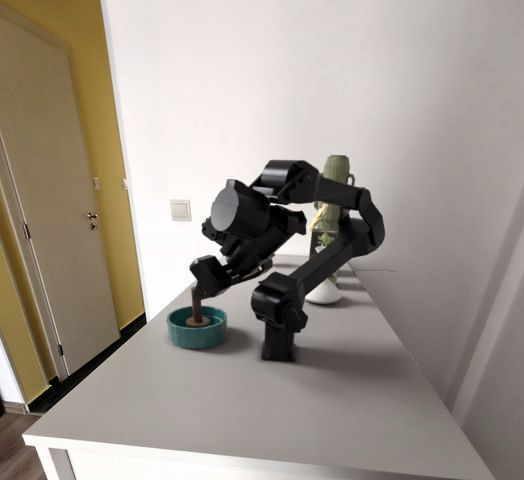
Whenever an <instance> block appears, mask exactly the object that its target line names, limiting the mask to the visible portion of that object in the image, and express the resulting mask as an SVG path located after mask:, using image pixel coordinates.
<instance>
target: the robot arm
mask: <svg viewBox="0 0 524 480" xmlns="http://www.w3.org/2000/svg"><path fill="white" fill-rule="evenodd" d="M320 173H321V171H320V170H319V168H317V167H315V166H314V165H313V164H311V163H310V162H308V161H307V160H304V159H270V160H268V161H267V163H266V164H265V165H264V167H263V170H262V172H261V173H260V175H258V177H256V178H255V179H254V180H253V181H252V182H251V183H250V185H247V184H245V183H244V182H243V181H241V180H239V179H237V178H236V179H235V178H234V179H233V178H228V179H226V183H225V187H223V189H221V190H220V191H219V192H218V193H217V195H216V197H215V199H214V201H213V202H212V203H211V207H210V216H208V217H206V218H205V221H204V222H201V234H202V235H203V236H204V237H205V238H207V239H208V240H210V241H211V242H214V243H216V244H217V245H219V246H220V248H219V252H220V254H221V255H222V257H225V261H226V263H225V264H222V263H221V262H220V261H219V259H218V257H217V256H216V255H213V254H207V255H203V256H200V257H197V258H195V259H194V260H193V261H192V262H191V263H190V264H189V266H188V268H189V272H190V273H191V274H192V275H193V277H194V278H195V279H196V285H195V286H194V287H195V290H194V293H193V296H192V295H191V298H192V297H193V299H194V300H195V301H200V300H201V301H203V300H207V299H211V298H213V299H214V298H217V297H219V296H220V295H223V294H225V292H227V291H228V290H229V289H230V288H231V287H233V286H236V285H240V284H243V283H246V282H248V281H251V280H254V279H257V278H259V277H261V276H263V275H264V274H267V273H269V271H270V270H271V269H272V268H273V265H274V264H273V263H274V260H273V258H274V257H275V256H276V254H275V253H276V252H277V251H278V250H280V249H281V248H282V247H283V246H284V245H285V244H286V243H287V242H288V241H289V240H290V239H291V238H292V237H294V236H295V235H296V234H298V235H300V236H306V235H307V232H308V231H307V224H308V219H307V217H306V214H305V212H304V210H301V209H300V210H292V209H289V208H287V207H285V206H289V205H291V204H294V205H302V204H303V205H305V204H314V202H320V203H324V204H329V205H334V206H339V209H340V213H339V217H338V220H337V225H338V228H339V229H338V232H337V238H336V240H334V241H333V242H332V243H330V244H329V245H328V246H326V247H325V248H324V249H323V250H321V251H320V252H319V253H317V254H316V255H315V256H313V257H312V258H311V259H309V258H308V260H307V261H306V262H304V263H303V264H301V265H299V267H297V268H296V269H295V270H293V271H292V272H291V273H289V274H288V275H287V274H285V273H281V272H279V271H273V272H270V273H269V275H267V277H265V278H264V279H262V280H259V281H257V284H258V285H257V286H256V287H255V288H254V289H253V290H252V292H251V297H250V308H251V310H252V312H253V313H254V316H255V319H256V320H257V321H261V322H263V323H264V340H263V341H262V348H261V353H260V359H261V360H268V361H284V362H295V361H296V359H297V356H296V355H297V354H296V343H295V336H296V334H300V333H302V330H303V329H305V328H306V326H307V325H308V321H309V316H308V314H307V313H306V312H305V311H304V310H303V309H304V305H305V301H306V300H305V297H306V296H307V295H308V294H309V293H310V292H311V291H312V290H314V289H315V288H316V287H317V286H319V285H320V284H321V283H322V282H323V281H325V280H326V279H327V278H328V277H330V276H331V275H332V274H333V273H334V272H336V271H337V270H338V271H339V270H340V269H341V268H342V267H343V266H344V265H346V264H347V263H348V262H349V261H351V260H352V259H356V258H360V257H365V256H368V255H370V254H372V253H373V252H375V251H377V250H378V249H379V248H380V247H381V246H382V244H383V243H384V241H385V238H386V228H385V223H384V217H383V214H382V213H381V211H380V210H379V209H378V208H377V206H376V205H375V204H374V202H373V200H372V194H371V191H370V190H369V189H367V188H366V187H365V186H364V187H362V186H355V185H354V186H353V185H351V184H349V183H348V184H346V183H343V182H339V181H336V180H333V179H329V178H326V177H324V176H322V175H321V174H320ZM349 210H350V211H355V212H358V214H359V216H360V217H361V218H358V217H351V215H350V211H349Z"/></svg>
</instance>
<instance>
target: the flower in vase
mask: <svg viewBox="0 0 524 480" xmlns="http://www.w3.org/2000/svg"><path fill="white" fill-rule="evenodd" d="M327 207H328V204H323V207H322V209H321V208H320V209H319V211H318V214H317V213H316V216H315V217H314V218H313V219H312V220H311V222H312V223H311V224H310V225H309V226H308V227H307V230H308V231H307V232H308V233H312V230H313V229H314V228H317V225H318V223H319V222H321V221H322V223H323V225H324V228H325V233H324V234H323V235H322V237H321V239H322V240H323V244H322V245H321V247H316V250H317V252H318V253H319V252H320V251H321V250H323V249H324V248H325V247H326V246H327V244H328V243H330V242H331V239H330V238H329V236H328V234H327V230H326V226H325V223H324V221H323V215H324V213H325V212H326V210H327ZM324 243H325V244H326V245H325V247H323V245H324ZM341 298H342V293H341V291H340V289H339V288H338V287H337V285H336V286H335V285H334V284H333V283H332V282H331V281H330V280H329V279H328V278H327V279H326V280H325V281H323V282H322V283H321V284H320V285H319V286H317V287H316V288H315V289H314V290H312V291H311V292H310V293H309V294H308V295H307V296H306V297H305V301H307V302H309V303H314V304H323V305H324V304H332V303H336V302H338V301H339V300H340V299H341Z"/></svg>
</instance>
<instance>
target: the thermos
mask: <svg viewBox="0 0 524 480" xmlns="http://www.w3.org/2000/svg"><path fill="white" fill-rule="evenodd" d="M350 169H351V165H350V158H349V156H347V155H345V154H330V155H329V156H327V158H326V160H325V163H324V166H323V171H322V172H320V174H321V175H322V176H324V177H326V178H329V179H333V180H336V181H339V182H343V183H346V184H349V178H350V179H351V184H350V185H353V186H355V184H356V178H355V175H354V174H353V173H350V171H351V170H350ZM323 204H324V203H320V202H313V208H314V209H315V210H316V211H317V212H316V215H317V214H318V211H319V209H320V208H321V209H322V207H323ZM349 212H351V210H349ZM339 213H340V209H339V206H334V205H329V204H328V207H327V210H326V212H325V213H324V215H323V221H324V223H325V226H326V229H328V230H338V229H339V228H338V225H337V220H338V217H339ZM316 228H317V229H325V228H324V225H323V223H322V221H321V222H319V223H318V224H317V226H316Z"/></svg>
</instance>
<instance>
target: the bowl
mask: <svg viewBox="0 0 524 480" xmlns="http://www.w3.org/2000/svg"><path fill="white" fill-rule="evenodd" d="M201 306H202V316H203V317H207V318H208V319H209V320H210V326H208V327H203V328H187V327H186V320H187V319H189V318H191V317H193V308H192V305H188V306H181V307H180V308H176V309H174V310H172V311H171V312H169V313H168V315H167V316H166V323H167V324H166V325H167V332H168V339H169V340H170V341H171V343H173V344H174V345H175V346H177V347H180V348H183V349H188V350H202V349H203V350H204V349H208V348H213V347H215V346H218V345H219V344H222V342H224V340H226V338H227V336H228V315H227V313H226V311H225V310H223V309H221V308H219V307H216V306H211V305H204V304H203V305H202V304H201Z"/></svg>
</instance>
